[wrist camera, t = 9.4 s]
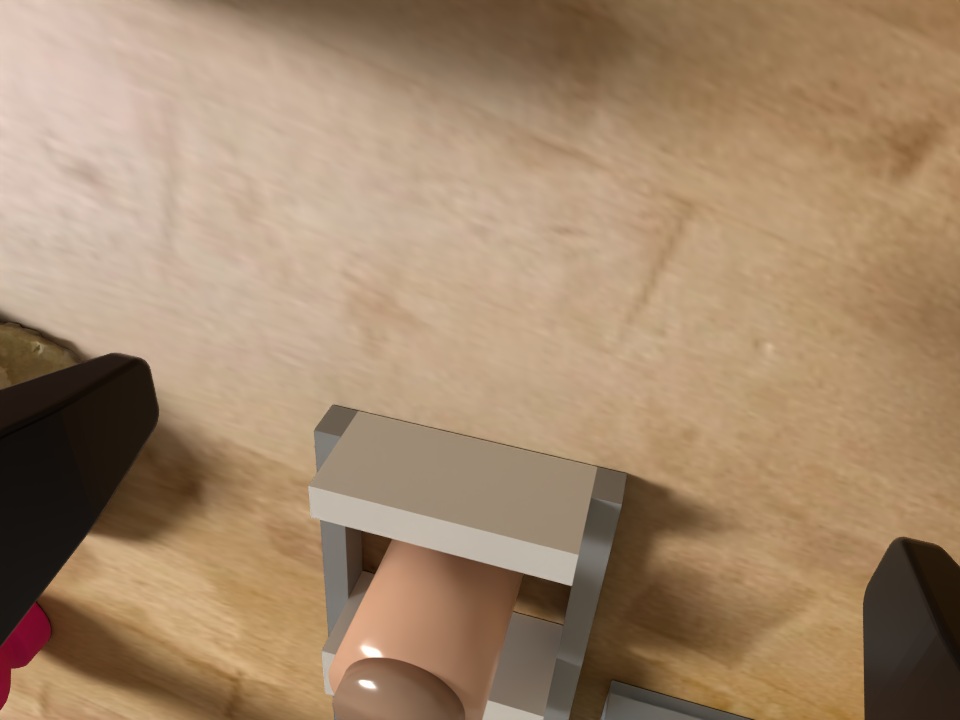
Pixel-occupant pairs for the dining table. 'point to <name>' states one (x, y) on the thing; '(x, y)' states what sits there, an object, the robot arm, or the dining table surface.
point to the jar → (424, 638)
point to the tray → (654, 706)
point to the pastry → (29, 355)
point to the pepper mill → (22, 646)
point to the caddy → (469, 536)
